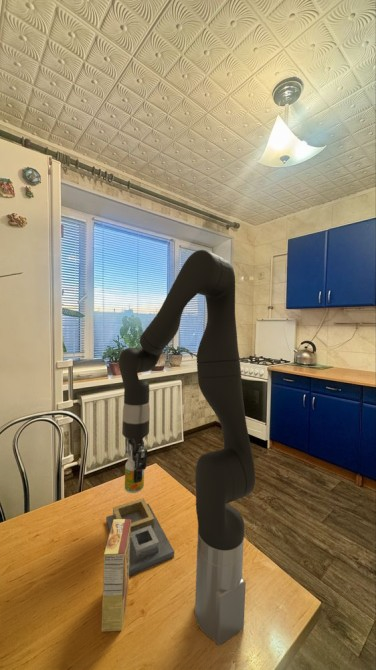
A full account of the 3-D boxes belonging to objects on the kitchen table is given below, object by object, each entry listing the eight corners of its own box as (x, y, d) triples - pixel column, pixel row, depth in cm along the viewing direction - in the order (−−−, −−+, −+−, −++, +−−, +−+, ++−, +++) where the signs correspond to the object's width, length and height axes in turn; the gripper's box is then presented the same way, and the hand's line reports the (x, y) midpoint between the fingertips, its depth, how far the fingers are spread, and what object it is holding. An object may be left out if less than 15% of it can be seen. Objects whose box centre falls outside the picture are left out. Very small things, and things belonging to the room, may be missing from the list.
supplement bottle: (120, 491, 71) (121, 457, 71) (130, 480, 76) (131, 448, 76) (138, 495, 70) (139, 460, 69) (146, 484, 75) (147, 451, 75)
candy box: (110, 585, 57) (112, 518, 56) (129, 584, 57) (131, 517, 56) (100, 633, 48) (102, 554, 47) (123, 631, 48) (125, 553, 48)
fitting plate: (174, 557, 64) (174, 541, 64) (122, 579, 58) (122, 562, 58) (148, 508, 81) (148, 495, 81) (106, 521, 75) (106, 508, 75)
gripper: (157, 424, 68) (155, 486, 68) (141, 408, 80) (139, 460, 81) (130, 429, 64) (128, 494, 65) (117, 411, 77) (115, 466, 77)
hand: (134, 475), depth 73 cm, fingers closed on supplement bottle, 5 cm apart
